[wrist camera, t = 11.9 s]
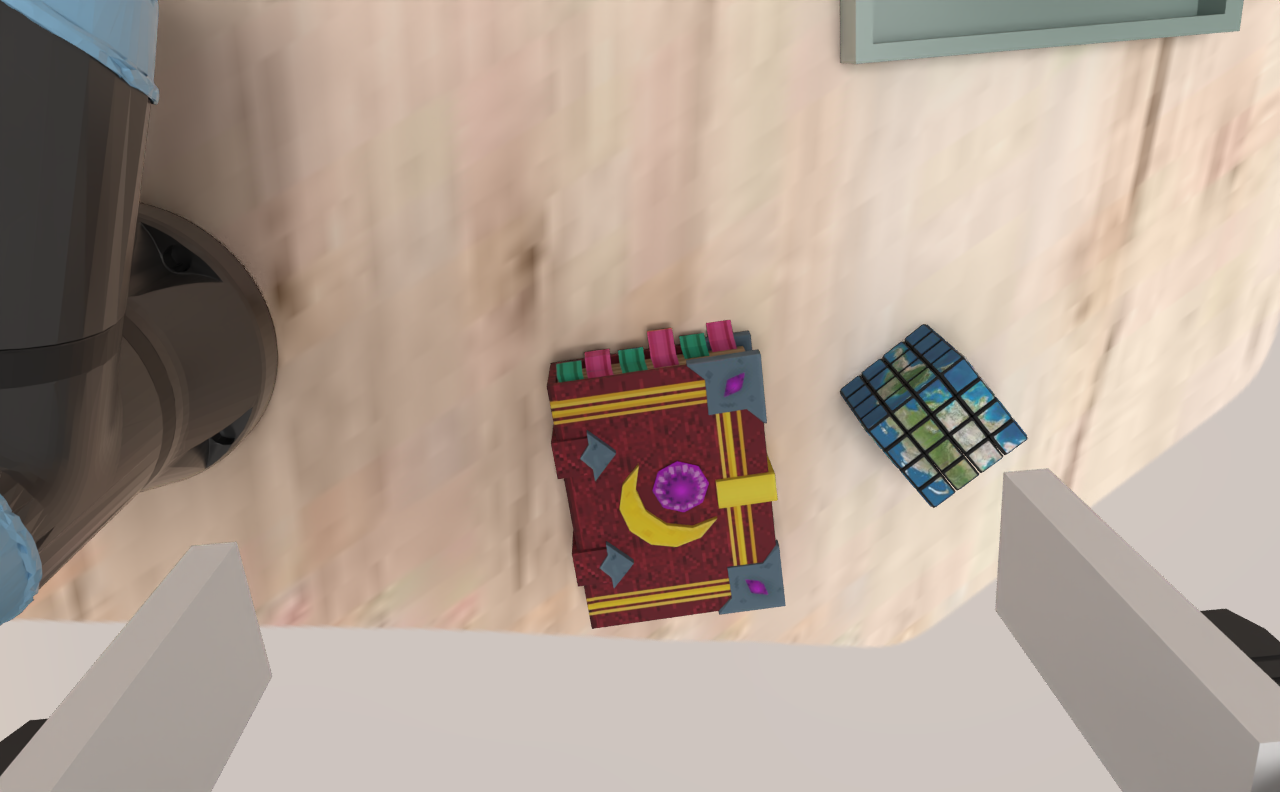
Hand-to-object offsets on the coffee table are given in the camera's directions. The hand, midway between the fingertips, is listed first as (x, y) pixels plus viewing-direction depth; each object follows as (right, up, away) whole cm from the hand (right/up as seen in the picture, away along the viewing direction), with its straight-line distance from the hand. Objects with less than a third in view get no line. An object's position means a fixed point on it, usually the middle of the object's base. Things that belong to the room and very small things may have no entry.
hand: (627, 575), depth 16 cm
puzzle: (+16, +3, +37) cm, 40 cm away
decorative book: (+2, 0, +38) cm, 38 cm away
